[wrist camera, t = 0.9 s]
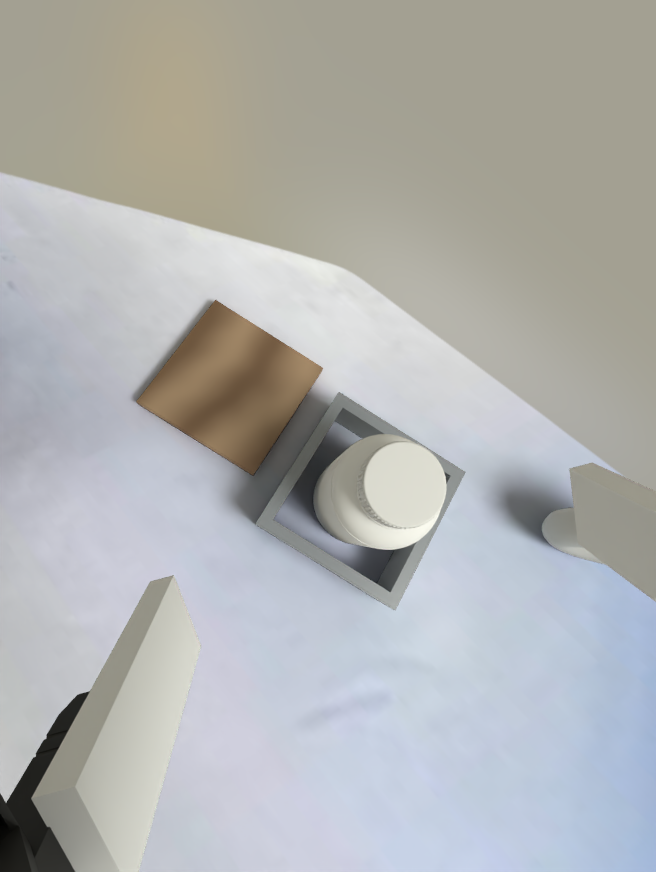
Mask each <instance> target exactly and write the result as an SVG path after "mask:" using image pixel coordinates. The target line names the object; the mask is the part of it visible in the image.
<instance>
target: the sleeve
mask: <svg viewBox="0 0 656 872" xmlns="http://www.w3.org/2000/svg"><path fill="white" fill-rule="evenodd" d="M334 421H336V422H337V423H339V424H341V425H342V426H344V427H345V428H347V429H349V430H350V431H352V432H353V433H355V434H356V435H358V436H360V437H361V438H366V437H369V436H372V435H378V434H391V435H397V436H400V437H403V438H406V439H408V440H411V441H412V442H414V443H416V444H419V445H420V446H423V445H422V444H420V443H419V442H417V441H416V440H414V439H412V438H411V437H409V436H408V435H406V434H405V433H403V432H401V431H400V430H398V429H397V428H395V427H393V426H392V425H390V424H389V423H387V422H386V421H384V420H382V419H381V418H379V417H378V416H376V415H375V414H373V413H371V412H370V411H368V410H367V409H365V408H363V407H362V406H360V405H359V404H357V403H356V402H354V401H352V400H351V399H349V398H348V397H346V396H344V395H343V394H341V393H340V392H338V394H337V396H336V397H335V399H334V400H333V402H332V403H331V405H330V407H329V408H328V410H327V411H326V413H325V415H324V416H323V418H322V419H321V421H320V422H319V424H318V426H317V427H316V429H315V430H314V432H313V433H312V435H311V437H310V438H309V440H308V441H307V443H306V445H305V446H304V448H303V449H302V451H301V452H300V454H299V456H298V457H297V459H296V460H295V462H294V464H293V465H292V467H291V468H290V470H289V471H288V473H287V475H286V476H285V478H284V479H283V481H282V482H281V484H280V486H279V487H278V489H277V490H276V492H275V494H274V495H273V497H272V498H271V500H270V501H269V503H268V505H267V506H266V508H265V509H264V511H263V513H262V514H261V516H260V517H259V519H258V520H257V522H256V524H255V525H257V526H258V527H260V528H262V529H263V530H265V531H267V532H268V533H270V534H271V535H273V536H275V537H276V538H278V539H279V540H281V541H283V542H284V543H286V544H287V545H289V546H291V547H292V548H294V549H296V550H297V551H299V552H300V553H302V554H304V555H305V556H307V557H308V558H310V559H312V560H313V561H315V562H316V563H318V564H320V565H321V566H323V567H325V568H326V569H328V570H329V571H331V572H333V573H334V574H336V575H337V576H339V577H341V578H342V579H344V580H345V581H347V582H349V583H350V584H352V585H354V586H355V587H357V588H358V589H360V590H362V591H363V592H365V593H366V594H368V595H370V596H371V597H373V598H374V599H376V600H378V601H379V602H381V603H383V604H385V605H386V606H388V607H390V608H392V609H393V610H396V608H397V606H398V604H399V602H400V600H401V598H402V596H403V594H404V592H405V590H406V588H407V586H408V584H409V582H410V580H411V579H412V577H413V575H414V573H415V571H416V569H417V567H418V565H419V563H420V561H421V559H422V557H423V555H424V553H425V551H426V549H427V547H428V545H429V543H430V541H431V539H432V537H433V535H434V533H435V531H436V529H437V527H438V525H439V523H440V521H441V519H442V518H443V516H444V514H445V512H446V510H447V508H448V506H449V504H450V502H451V500H452V498H453V496H454V494H455V492H456V490H457V488H458V486H459V484H460V482H461V480H462V478H463V476H464V474H465V471H463V470H461V469H460V468H458V467H457V466H455V465H454V464H452V463H450V462H449V461H447V460H446V459H444V458H442V457H441V456H439V455H438V454H436V453H435V452H433V451H431V450H430V449H428V448H427V447H425V446H423V447H424V448H426V449H427V450H429V451H430V452H431V453H432V454H433V455H434V456H435V457H436V459H437V460H438V461H439V463H440V464H441V467H442V468H443V471H444V473H445V477H446V484H447V487H446V489H447V490H446V496H445V500H444V503H443V504H442V505H443V506H442V508H441V511H440V514H439V516H438V518H437V520H436V522H435V524H434V525H433V527H432V528H431V529H430V531H429V532H428V533H427V534H426V535H425V536H424V537H423V538H421V539H420V540H419V541H417V542H415V543H414V544H412V545H409V546H407V547H404V548H400V549H395V550H394V552H393V554H392V556H391V558H390V559H389V561H388V563H387V565H386V567H385V569H384V571H383V573H382V575H381V576H380V578H379V580H378V582H377V584H376V583H375V582H373V581H371V580H370V579H368V578H367V577H365V576H363V575H362V574H360V573H358V572H357V571H355V570H354V569H352V568H350V567H349V566H347V565H346V564H344V563H342V562H341V561H339V560H338V559H336V558H334V557H333V556H331V555H330V554H328V553H326V552H325V551H323V550H321V549H320V548H318V547H317V546H315V545H313V544H312V543H310V542H309V541H307V540H305V539H304V538H302V537H301V536H299V535H297V534H296V533H294V532H293V531H291V530H289V529H288V528H286V527H284V526H283V525H281V524H280V523H278V522H276V521H275V520H273V519H274V517H275V516H276V514H277V512H278V511H279V509H280V508H281V506H282V504H283V503H284V501H285V500H286V498H287V496H288V495H289V493H290V492H291V490H292V488H293V487H294V485H295V483H296V482H297V480H298V479H299V477H300V475H301V474H302V472H303V471H304V469H305V467H306V466H307V464H308V463H309V461H310V459H311V458H312V456H313V455H314V453H315V451H316V450H317V448H318V447H319V445H320V443H321V442H322V440H323V439H324V437H325V435H326V434H327V432H328V430H329V429H330V427H331V426H332V424H333V422H334Z"/></svg>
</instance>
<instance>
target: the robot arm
mask: <svg viewBox="0 0 656 872" xmlns="http://www.w3.org/2000/svg"><path fill="white" fill-rule="evenodd" d="M570 478H571V487H572V496H573V504H574V513H575V522H576V531H577V540H578V544H579V545H581V546H582V547H583V548H585V549H586V550H587V551H589V552H590V553H591V554H593V555H594V556H595V557H597V558H598V559H599V560H601V561H602V562H603V563H605V564H606V565H607V566H609V567H610V568H611V569H613V570H614V571H615V572H617V573H618V574H619V575H621V576H622V577H623V578H625V579H626V580H627V581H629V582H630V583H631V584H633V585H634V586H635V587H637V588H638V589H639V590H641V591H642V592H643V593H645V594H646V595H647V596H649V597H650V598H651V599H653V600H654V601H655V602H656V491H654V490H652V489H650V488H647V487H645V486H643V485H641V484H639V483H636V482H634V481H632V480H630V479H627V478H625V477H623V476H621V475H618V474H616V473H614V472H612V471H610V470H607V469H605V468H603V467H601V466H598V465H596V464H594V463H589V464H585V465H582V466H578V467H574V468H570ZM200 649H201V644H200V642H199V639H198V637H197V634H196V631H195V629H194V626H193V624H192V621H191V619H190V616H189V613H188V611H187V608H186V606H185V603H184V600H183V598H182V595H181V593H180V590H179V587H178V585H177V582H176V580H175V577H174V575H173V576H169V577H165V578H162V579H158V580H154V581H151V582H150V583H149V585H148V587H147V588H146V590H145V592H144V594H143V596H142V597H141V599H140V601H139V603H138V605H137V607H136V608H135V610H134V612H133V614H132V616H131V618H130V619H129V621H128V623H127V625H126V627H125V628H124V630H123V632H122V634H121V636H120V638H119V639H118V641H117V643H116V645H115V647H114V649H113V650H112V652H111V654H110V656H109V658H108V659H107V661H106V663H105V665H104V667H103V669H102V670H101V672H100V674H99V676H98V678H97V680H96V681H95V683H94V685H93V687H92V689H91V690H90V691H89V692H86V693H82V694H79V695H77V696H76V697H75V698H74V699H73V700H72V701H71V702H70V703H69V705H68V706H67V707H66V708H65V709H64V710H63V711H62V712H61V713H60V714H59V715H58V717H57V719H56V720H55V722H54V724H53V725H52V727H51V729H50V731H49V732H48V734H47V739H45V740H44V741H43V742H42V744H41V746H40V747H39V749H38V751H37V752H36V757H34V758H33V759H32V761H31V762H30V764H29V766H28V767H27V769H26V771H25V773H24V774H23V776H22V778H21V779H20V781H19V783H18V784H17V786H16V788H15V789H14V791H13V793H12V794H11V796H10V798H9V799H8V801H7V803H5V801H4V799H3V797H2V796H1V794H0V872H139V868H140V865H141V861H142V858H143V854H144V850H145V847H146V843H147V840H148V836H149V832H150V829H151V825H152V822H153V818H154V814H155V811H156V807H157V804H158V800H159V796H160V793H161V789H162V786H163V782H164V778H165V775H166V771H167V768H168V764H169V760H170V757H171V753H172V750H173V746H174V742H175V739H176V735H177V732H178V728H179V724H180V721H181V717H182V714H183V710H184V706H185V703H186V699H187V696H188V692H189V688H190V685H191V681H192V678H193V674H194V670H195V667H196V663H197V660H198V656H199V652H200Z"/></svg>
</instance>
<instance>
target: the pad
mask: <svg viewBox="0 0 656 872" xmlns="http://www.w3.org/2000/svg"><path fill="white" fill-rule="evenodd" d="M322 369H323V368H322V367H321V366H319V365H317V364H316V363H314V362H313V361H311V360H309V359H308V358H306V357H305V356H303V355H302V354H300V353H298V352H297V351H295V350H294V349H292V348H291V347H289V346H287V345H286V344H284V343H283V342H281V341H279V340H278V339H276V338H275V337H273V336H272V335H270V334H268V333H267V332H265V331H264V330H262V329H261V328H259V327H257V326H256V325H254V324H253V323H251V322H250V321H248V320H246V319H245V318H243V317H242V316H240V315H238V314H237V313H235V312H234V311H232V310H231V309H229V308H227V307H226V306H224V305H223V304H221V303H220V302H218V301H216V300H215V301H214V302H213V304H212V305H211V306H210V307H209V309H208V310H207V311H206V313H205V314H204V315H203V316H202V318H201V319H200V320H199V322H198V323H197V324H196V325H195V327H194V328H193V329H192V331H191V332H190V333H189V334H188V336H187V337H186V338H185V340H184V341H183V342H182V343H181V345H180V346H179V347H178V349H177V350H176V351H175V352H174V354H173V355H172V356H171V358H170V359H169V360H168V361H167V363H166V364H165V365H164V367H163V368H162V369H161V370H160V372H159V373H158V374H157V376H156V377H155V378H154V379H153V381H152V382H151V383H150V385H149V386H148V387H147V388H146V390H145V391H144V392H143V394H142V395H141V396H140V397H139V399H138V400H137V401H136V402H137V403H138V404H139V405H140V406H142V407H143V408H145V409H147V410H148V411H150V412H151V413H153V414H155V415H156V416H158V417H159V418H161V419H163V420H164V421H166V422H167V423H169V424H171V425H172V426H174V427H175V428H177V429H179V430H180V431H182V432H183V433H185V434H187V435H188V436H190V437H191V438H193V439H195V440H196V441H198V442H199V443H201V444H203V445H204V446H206V447H208V448H209V449H211V450H212V451H214V452H216V453H217V454H219V455H220V456H222V457H224V458H225V459H227V460H228V461H230V462H232V463H233V464H235V465H236V466H238V467H240V468H241V469H243V470H244V471H246V472H248V473H249V474H251V475H252V476H254V474H255V473H256V471H257V470H258V468H259V466H260V465H261V463H262V462H263V460H264V459H265V457H266V456H267V454H268V453H269V451H270V450H271V448H272V447H273V445H274V444H275V442H276V441H277V439H278V437H279V436H280V434H281V433H282V431H283V430H284V428H285V427H286V425H287V424H288V422H289V421H290V419H291V418H292V416H293V415H294V413H295V412H296V410H297V408H298V407H299V405H300V404H301V402H302V401H303V399H304V398H305V396H306V395H307V393H308V392H309V390H310V389H311V387H312V386H313V384H314V383H315V381H316V379H317V378H318V376H319V375H320V373H321V372H322Z"/></svg>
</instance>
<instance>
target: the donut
mask: <svg viewBox="0 0 656 872" xmlns="http://www.w3.org/2000/svg"><path fill="white" fill-rule="evenodd" d="M542 533H543V535H544V537H545V539H546V540H547V541H548V543H549V544H550V545H551V546H553V547H554V548H556V549H558V550H560V551H561V552H564V553H567V554H569V555H572V556H575V557H578V558H582V559H585V560H589V561H593V562H597V563H601V564H605V563H603V562H602V561H601V560H599V559H598V558H597V557H595V556H594V555H593V554H591V553H590V552H589V551H587V550H586V549H585V548H583V547H582V546H581V545H579V544H578V540H577V531H576V522H575V513H574V508H565V509H560V510H555V511H553V512H552V513H550V514H549V515H548V516H547V517H546V519H545V520H544V522H543V524H542ZM605 565H606V564H605Z"/></svg>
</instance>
